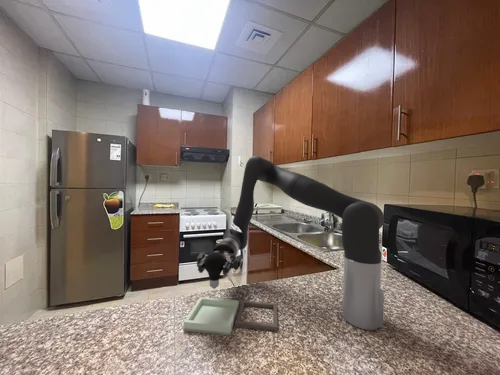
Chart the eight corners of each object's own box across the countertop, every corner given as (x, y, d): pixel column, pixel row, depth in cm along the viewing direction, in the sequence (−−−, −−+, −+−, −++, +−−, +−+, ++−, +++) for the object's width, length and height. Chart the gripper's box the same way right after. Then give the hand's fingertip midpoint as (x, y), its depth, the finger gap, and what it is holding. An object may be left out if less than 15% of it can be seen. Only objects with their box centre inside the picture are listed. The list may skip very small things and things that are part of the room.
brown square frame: (276, 306, 64) (276, 303, 64) (277, 331, 53) (277, 327, 53) (241, 303, 65) (241, 300, 65) (234, 326, 54) (235, 322, 54)
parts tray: (238, 308, 63) (238, 300, 63) (230, 335, 51) (230, 326, 51) (200, 304, 64) (200, 297, 64) (183, 330, 52) (183, 321, 52)
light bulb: (220, 295, 54) (221, 256, 54) (199, 292, 55) (200, 254, 55) (227, 284, 60) (228, 250, 60) (208, 282, 61) (209, 248, 61)
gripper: (206, 238, 73) (186, 254, 56) (247, 241, 71) (239, 258, 54) (206, 260, 73) (185, 282, 56) (246, 263, 71) (238, 286, 54)
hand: (212, 270), depth 55 cm, fingers closed on light bulb, 6 cm apart
